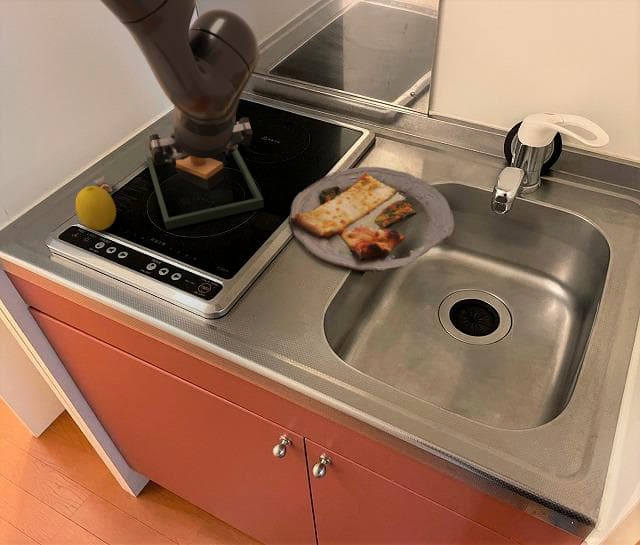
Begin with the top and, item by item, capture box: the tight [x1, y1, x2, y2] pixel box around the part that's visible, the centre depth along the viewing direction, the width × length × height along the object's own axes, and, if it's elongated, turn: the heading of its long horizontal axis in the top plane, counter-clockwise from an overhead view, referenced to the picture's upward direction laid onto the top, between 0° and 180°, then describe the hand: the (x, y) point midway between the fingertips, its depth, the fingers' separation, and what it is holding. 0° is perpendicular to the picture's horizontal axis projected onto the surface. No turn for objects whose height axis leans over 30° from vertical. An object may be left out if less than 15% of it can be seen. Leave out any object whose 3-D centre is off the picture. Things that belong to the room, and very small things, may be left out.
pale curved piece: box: [93, 176, 113, 193], centre depth 94 cm, size 3×2×4 cm
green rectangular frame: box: [146, 148, 265, 230], centre depth 96 cm, size 20×16×2 cm
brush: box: [174, 156, 225, 191], centre depth 94 cm, size 7×4×12 cm, turn 57°
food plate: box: [287, 166, 455, 274], centre depth 88 cm, size 25×23×4 cm
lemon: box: [75, 185, 117, 231], centre depth 86 cm, size 6×6×8 cm
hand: (199, 154), depth 88 cm, fingers open, 8 cm apart
